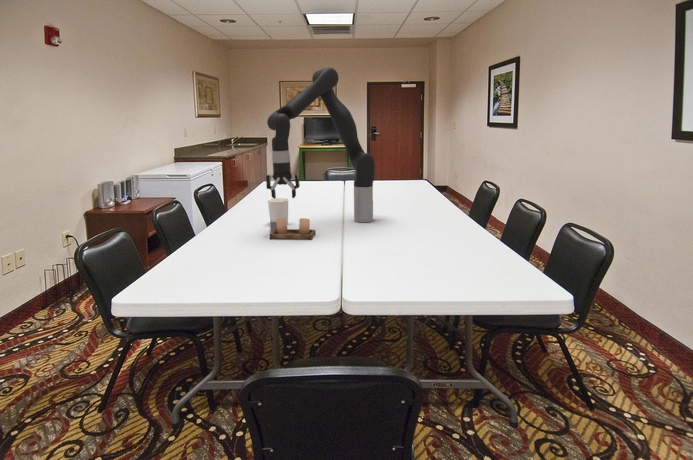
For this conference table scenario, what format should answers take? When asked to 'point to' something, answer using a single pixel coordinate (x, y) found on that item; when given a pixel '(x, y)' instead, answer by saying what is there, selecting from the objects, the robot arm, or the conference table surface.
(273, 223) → the grey block
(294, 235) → the tray
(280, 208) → the candle holder
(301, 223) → the clay cylinder
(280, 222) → the clay cylinder
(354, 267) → the conference table surface
